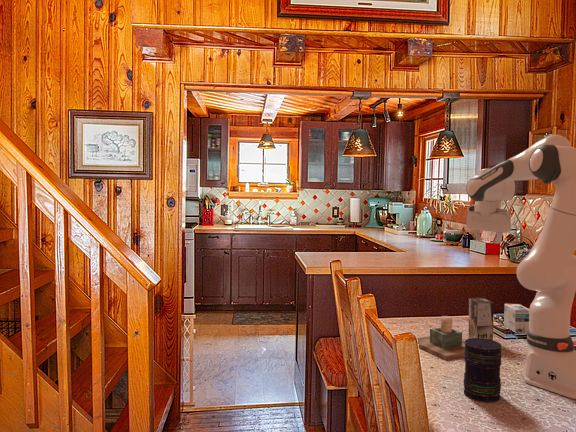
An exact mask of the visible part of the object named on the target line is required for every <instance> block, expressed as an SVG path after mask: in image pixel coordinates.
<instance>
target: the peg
mask: <svg viewBox="0 0 576 432" xmlns="http://www.w3.org/2000/svg"><path fill="white" fill-rule="evenodd" d="M440 328H441V332H442V333H445V334H446V333H452V329H453V317H452V316H449V315H441V316H440Z"/></svg>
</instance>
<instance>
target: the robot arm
mask: <svg viewBox="0 0 576 432" xmlns="http://www.w3.org/2000/svg"><path fill="white" fill-rule="evenodd" d="M535 180H541V181H542V182H543V184H545V185H549V184H551V183H552V184H553V185H554V187H555V191H554V195H553V198H552V200H551V203H550V206H549V210H548V212H547V216H546V218H545V221H544V224H543V228H542V230H541V232H540V234H539V236H538V238H537V240H536V241H535V243H534V245H533V246H532V247H531V249H530V251H529V252H528V254H527V255H526V257H525V258H523V260H521V261H520V262H519V263H518V266H517V268H516V278H517V280H518V282H519V284H520V285H521V286H523V288H525V289H527V290H530V291H534V292H536V293H535V296H534V299H532V302H531V303H530V306H529V309H530V310H529V330H528V331H527V336H526V343H527V351H526V357H525V362H524V366H523V368H522V369H523V370H522V372H521V375H522V377H523V382H524V384H525V383H526V384H529V385H531V386H535V387H538V388H541V389H543V390H546V391H548V392H552V393H555V394H558V395H561V396H563V397H567V398H569V399H572V400H576V347H575V346H576V341H573V339H572V336H571V335H570V333H571V331H570V330H571V314H572V313H571V312H572V307H573V302H574V299H575V297H576V296H575V295H576V255H574V253H575V251H576V147H574V146H572V144H571V142H570V141H569V139H568V138H566V136H563V135H560V134H550V135H548V136H546V137H544V138H541V139H539V140H538V141H536V142H535V143H533V144H532V145H530V146H529V147H528V148H526V149H525V150H523V151H522V152H520V153H518V154H516V155H514V156H512V157H509V158H508V159H506V160H504V161H502V162H500V163H498V164H496V165H495V166H493V167H486V168H482V169H481V170H480V171H479V174H478V175H477V174H476V175H472V177H471V178H469V180H468V181H467V183H466V186H465V187H466V188H465V189H466V190H465V191H466V193H467V195H468V196H469V198H470V199H471V200H472V201H474V202H476V203H475V204H471V205H470V206H468V207H466V208H467V212H468V213H467V215H466V228H467V229H468V230H473V233H474V235H475V241H477V242H482V241H483V236H481V234H480V233H481V231H483V232H484V231H485V232H494V233H496V234H495V235H496V237H495V238H493V243H494V244H498V245H499V244H501V239H502V238H503V236H504V234H506V233H507V234H508V233H510V232H511V231H512V220H511V212H510V210H508V209H506V208H502V207H501V204H502V203H501V201H504V202H505V201H510V200H513V199H514V198H515V196H516V195H517V193H518V182H517V181H535Z"/></svg>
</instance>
